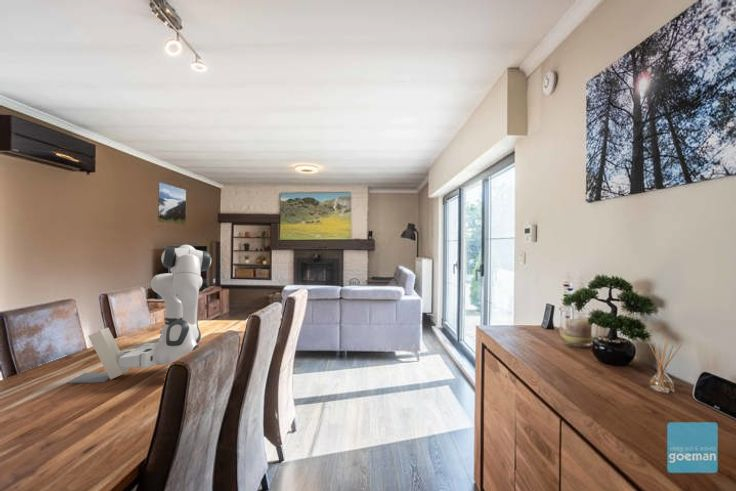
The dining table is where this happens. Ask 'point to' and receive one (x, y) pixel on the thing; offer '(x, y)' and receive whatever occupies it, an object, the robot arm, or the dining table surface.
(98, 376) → the slate mat
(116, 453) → the dining table surface
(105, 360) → the cream block
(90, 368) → the dining table surface
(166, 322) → the robot arm
